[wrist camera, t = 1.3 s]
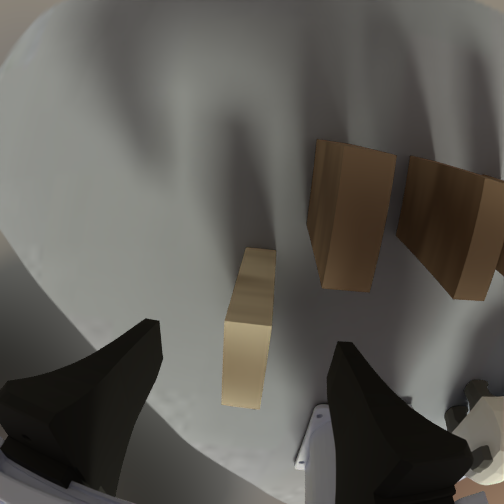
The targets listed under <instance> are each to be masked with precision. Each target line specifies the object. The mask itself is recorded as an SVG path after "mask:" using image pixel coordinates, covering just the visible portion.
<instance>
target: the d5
mask: <svg viewBox="0 0 504 504" xmlns="http://www.w3.org/2000/svg"><path fill="white" fill-rule="evenodd" d="M396 157H397V155H393V154H389V153H385V152H381V151H377V150H373V149H369V148H365V147H360V146H356V145H352V144H346V143H340V142H333V141H327V140H319V139H317V142H316V151H315V160H314V169H313V178H312V186H311V194H310V202H309V209H308V217H307V228H308V232H309V236H310V240H311V244H312V248H313V252H314V256H315V260H316V265H317V269H318V273H319V277H320V281H321V286H322V288H325V289H336V290H347V291H358V292H370V288H371V285H372V281H373V277H374V273H375V268H376V264H377V260H378V256H379V251H380V247H381V242H382V237H383V233H384V228H385V223H386V218H387V213H388V207H389V202H390V196H391V190H392V184H393V178H394V171H395V164H396Z"/></svg>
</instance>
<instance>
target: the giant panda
mask: <svg viewBox="0 0 504 504" xmlns="http://www.w3.org/2000/svg"><path fill="white" fill-rule="evenodd" d="M487 386H488V382H487V381H485V380H472V381H471V382H470V383H469V384H468V385H467V386H466V388H465V390H464V393H465V395H466V397H467V399H468V401H469V407H470V412H469V413H468V415H467V412H468V407H465V406H456V407H451V408H450V409H449V410H448V411H447V412H446V414H445V416H444V418H445V421H446V426H447V431H448V432H450V433H452V434H454V435H457V436H459V437H461V438H463V439H465V440H466V441H467V443H468V445H469V447H470V450H471V452H472V455H473V457H474V462H473V464H472V466H471V468H470V469H469V471H468V472H467V473H466V474H465V476H466V477H468V478H470V479H471V480H473V481H475V482H477V483H479V484H483V485H491V484H496V483H500V482H502V481H504V396H502V397H496V396H494V395H493V394H491V393H489V390H488V388H487Z"/></svg>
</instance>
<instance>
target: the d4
mask: <svg viewBox="0 0 504 504" xmlns="http://www.w3.org/2000/svg"><path fill="white" fill-rule="evenodd" d="M396 236H397V237H398V238H399V239H400V241H401V242H402V243H403V244H404V245H405V246H406V247H407V248H408V249H409V250H410V251H411V252H412V253H413V254H414V255H415V256H416V258H417V259H418V260H419V261H420V262H421V263H422V264H423V265H424V266H425V267H426V268H427V270H428V271H429V272H430V273H431V274H432V275H433V276H434V277H435V279H436V280H437V281H438V282H439V283H440V284H441V285H442V287H443V288H444V289H445V290H446V291H447V292H448V294H449V295H450V296H451V297H452V298H453V299H459V300H475V301H484V300H485V297H486V295H487V292H488V289H489V286H490V283H491V281H492V278H493V275H494V272H495V269H496V266H497V262H498V259H499V256H500V253H501V249H502V246H503V242H504V183H502V182H500V181H497V180H494V179H491V178H488V177H485V176H482V175H479V174H476V173H473V172H470V171H467V170H463V169H460V168H457V167H453V166H450V165H447V164H443V163H440V162H436V161H432V160H428V159H423V158H419V157H415V156H410V160H409V167H408V173H407V179H406V186H405V191H404V197H403V202H402V208H401V213H400V218H399V223H398V228H397V232H396Z"/></svg>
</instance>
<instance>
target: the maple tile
mask: <svg viewBox="0 0 504 504" xmlns="http://www.w3.org/2000/svg"><path fill="white" fill-rule="evenodd" d="M275 265H276V250H268V249H259V248H249V247H246V249H245V253H244V256H243V260H242V263H241V266H240V270H239V273H238V277H237V280H236V284H235V287H234V290H233V294H232V297H231V301H230V304H229V308H228V311H227V314H226V318H225V324H224V348H223V375H222V405H227V406H234V407H242V408H251V409H260V404H261V397H262V391H263V384H264V378H265V371H266V364H267V357H268V350H269V343H270V336H271V329H272V317H273V300H274V283H275Z"/></svg>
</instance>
